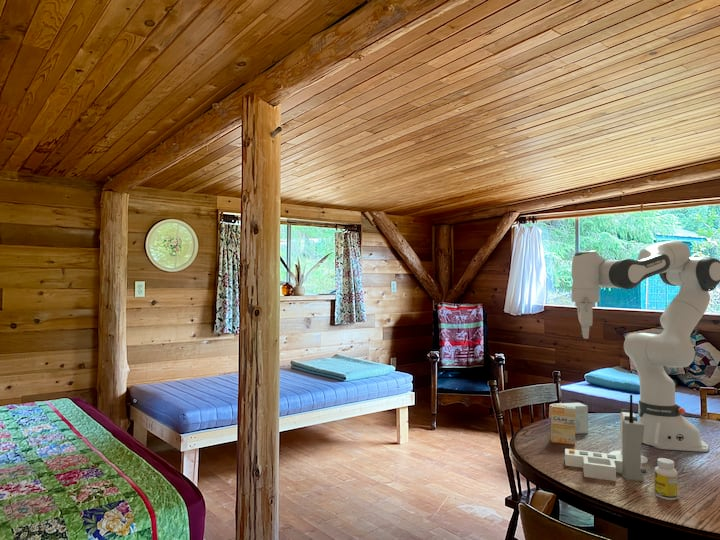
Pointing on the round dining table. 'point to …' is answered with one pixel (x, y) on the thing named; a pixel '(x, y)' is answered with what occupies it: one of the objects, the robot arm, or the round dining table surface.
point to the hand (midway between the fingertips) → (585, 336)
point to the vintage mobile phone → (632, 447)
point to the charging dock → (595, 463)
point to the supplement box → (563, 424)
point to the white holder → (623, 416)
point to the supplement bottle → (666, 479)
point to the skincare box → (579, 417)
